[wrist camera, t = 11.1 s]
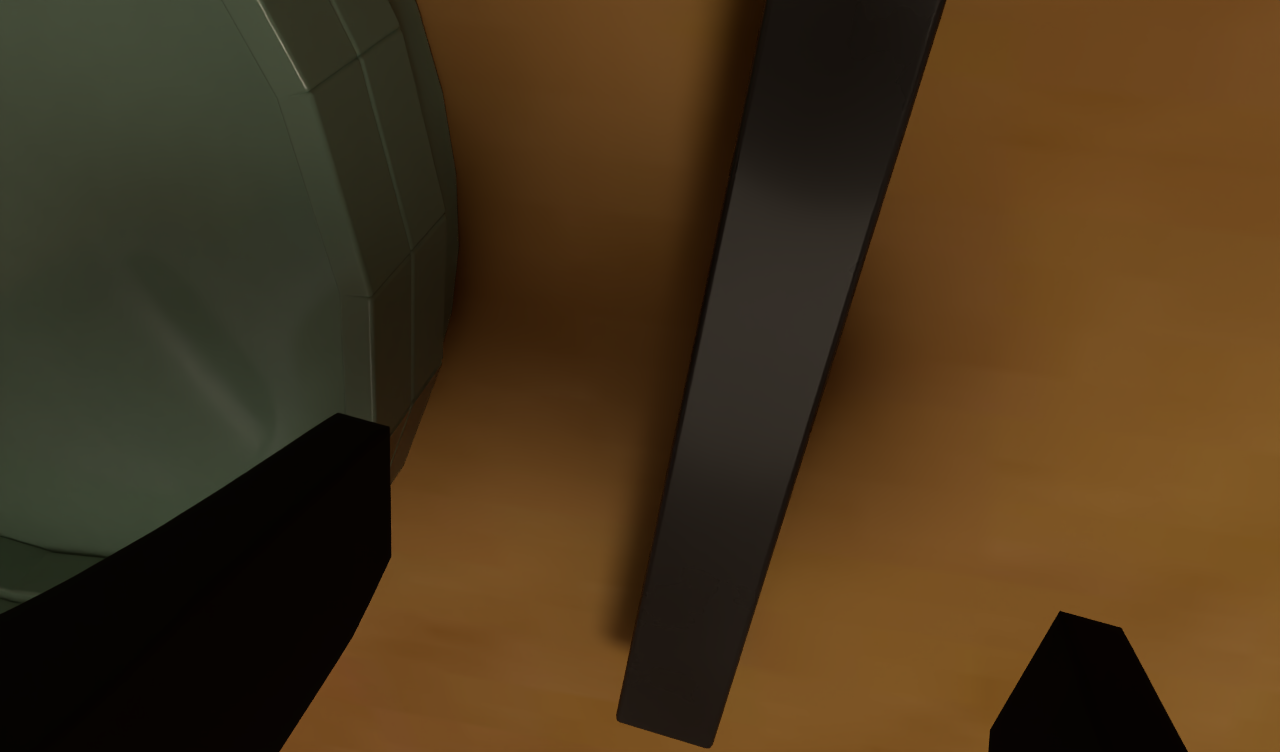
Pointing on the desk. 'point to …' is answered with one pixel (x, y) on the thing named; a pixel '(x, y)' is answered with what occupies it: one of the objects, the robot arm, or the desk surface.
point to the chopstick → (768, 334)
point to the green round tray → (206, 253)
